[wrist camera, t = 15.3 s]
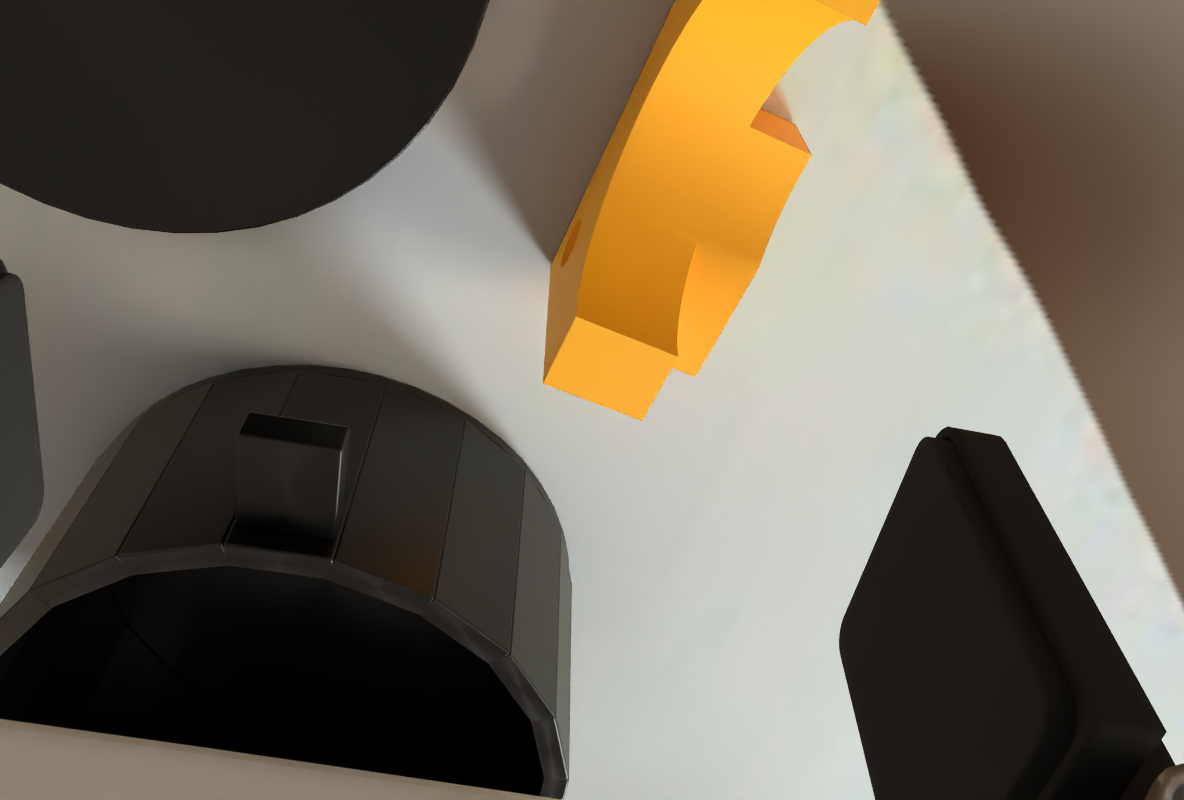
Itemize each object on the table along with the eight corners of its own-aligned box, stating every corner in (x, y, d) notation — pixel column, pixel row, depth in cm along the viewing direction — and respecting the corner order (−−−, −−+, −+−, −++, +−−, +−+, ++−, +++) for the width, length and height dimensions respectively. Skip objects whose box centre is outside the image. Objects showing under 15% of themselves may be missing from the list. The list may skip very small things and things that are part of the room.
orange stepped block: (685, 320, 31) (707, 445, 26) (550, 266, 30) (543, 383, 25) (910, -83, 25) (999, -33, 20) (752, -166, 24) (800, -137, 19)
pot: (103, 748, 41) (1, 963, 34) (60, 241, 30) (-106, 402, 23) (518, 797, 43) (505, 1011, 36) (629, 335, 31) (642, 513, 24)
